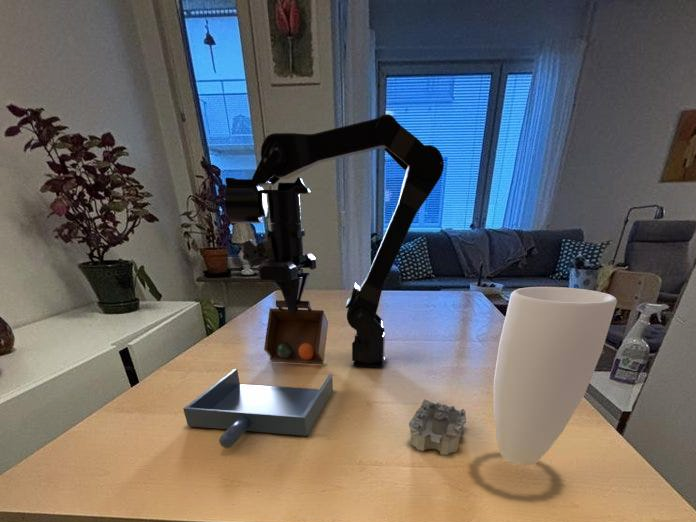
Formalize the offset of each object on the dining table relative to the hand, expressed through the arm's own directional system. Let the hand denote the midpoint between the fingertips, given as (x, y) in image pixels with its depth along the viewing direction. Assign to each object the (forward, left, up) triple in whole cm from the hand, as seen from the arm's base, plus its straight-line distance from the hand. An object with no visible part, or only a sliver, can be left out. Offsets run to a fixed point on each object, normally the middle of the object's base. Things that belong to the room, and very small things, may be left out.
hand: (293, 312), depth 83 cm
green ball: (+2, +1, -8) cm, 8 cm away
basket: (0, -3, -7) cm, 7 cm away
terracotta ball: (-3, +1, -8) cm, 8 cm away
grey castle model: (-31, +31, -11) cm, 45 cm away
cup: (-41, +40, -11) cm, 58 cm away
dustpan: (-2, +28, -11) cm, 30 cm away
